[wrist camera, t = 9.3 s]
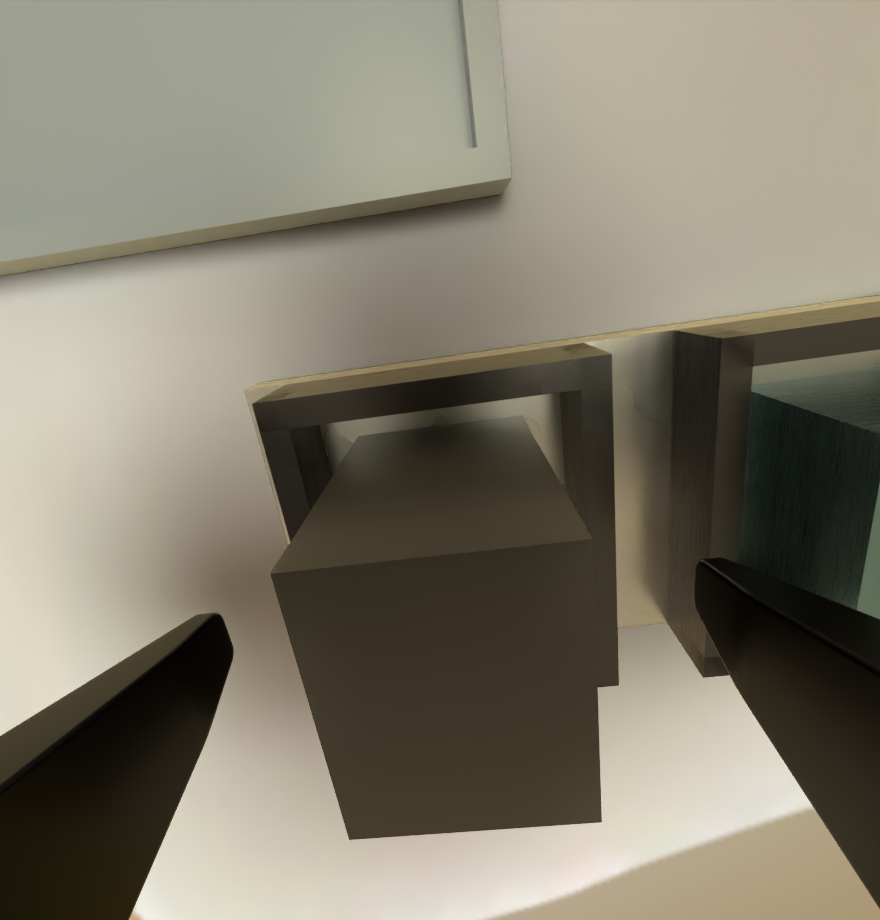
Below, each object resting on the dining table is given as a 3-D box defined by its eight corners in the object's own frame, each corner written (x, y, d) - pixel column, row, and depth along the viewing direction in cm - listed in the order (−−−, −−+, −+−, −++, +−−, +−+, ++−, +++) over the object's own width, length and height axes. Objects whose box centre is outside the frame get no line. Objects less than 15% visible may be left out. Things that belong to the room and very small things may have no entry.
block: (521, 415, 11) (593, 539, 6) (535, 591, 13) (601, 822, 7) (357, 435, 12) (270, 573, 6) (392, 605, 13) (349, 839, 8)
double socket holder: (1006, 277, 11) (1421, 267, 6) (935, 571, 14) (1191, 719, 9) (260, 382, 12) (141, 440, 8) (328, 634, 15) (271, 793, 10)
